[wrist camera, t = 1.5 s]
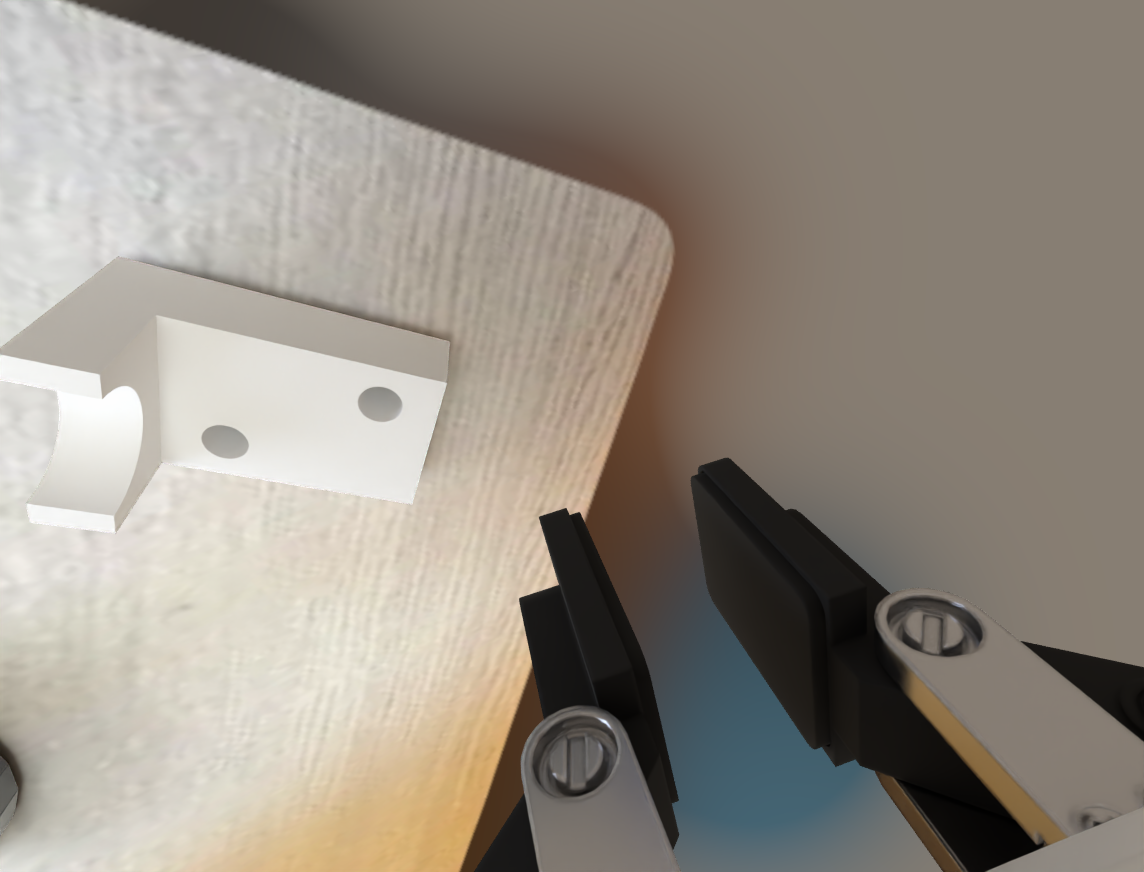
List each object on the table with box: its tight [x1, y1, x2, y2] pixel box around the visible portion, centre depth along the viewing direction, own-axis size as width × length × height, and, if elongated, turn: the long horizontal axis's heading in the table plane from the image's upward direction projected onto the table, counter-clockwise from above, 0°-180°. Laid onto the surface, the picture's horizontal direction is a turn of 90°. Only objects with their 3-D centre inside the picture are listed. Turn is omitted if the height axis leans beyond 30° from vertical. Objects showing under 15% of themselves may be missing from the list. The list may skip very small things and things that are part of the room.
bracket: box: [0, 256, 450, 534], centre depth 24 cm, size 13×7×8 cm, turn 72°
